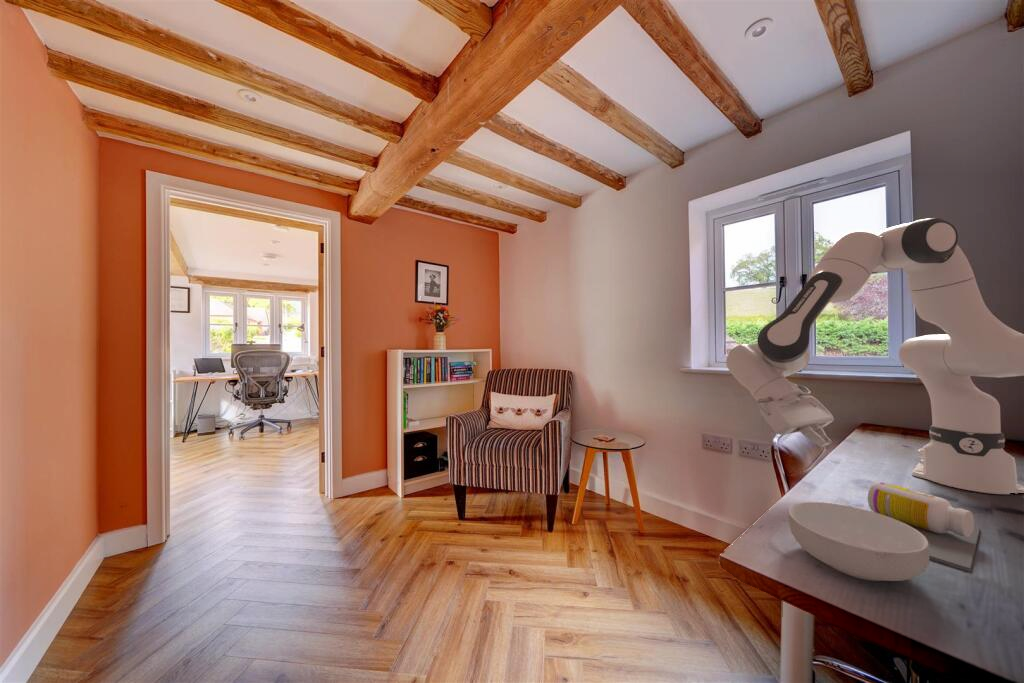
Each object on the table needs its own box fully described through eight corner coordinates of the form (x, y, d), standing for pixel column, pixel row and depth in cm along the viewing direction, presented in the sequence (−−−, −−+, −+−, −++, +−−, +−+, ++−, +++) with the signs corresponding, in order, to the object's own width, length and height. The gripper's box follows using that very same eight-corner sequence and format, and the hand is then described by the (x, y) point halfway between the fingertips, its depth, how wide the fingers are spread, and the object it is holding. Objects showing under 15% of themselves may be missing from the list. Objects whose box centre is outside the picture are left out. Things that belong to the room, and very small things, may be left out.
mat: (897, 509, 78) (897, 507, 78) (979, 530, 69) (979, 527, 69) (873, 541, 66) (873, 538, 66) (970, 571, 57) (970, 568, 57)
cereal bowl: (790, 529, 71) (789, 493, 71) (916, 560, 60) (914, 518, 60) (786, 571, 57) (785, 526, 58) (946, 620, 47) (945, 566, 47)
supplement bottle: (870, 518, 76) (964, 551, 64) (862, 492, 75) (956, 520, 63) (886, 500, 78) (979, 528, 66) (878, 474, 77) (972, 498, 65)
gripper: (763, 391, 85) (812, 442, 76) (810, 386, 94) (859, 432, 85) (744, 407, 89) (789, 458, 80) (791, 401, 98) (836, 446, 89)
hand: (826, 444), depth 83 cm, fingers closed
